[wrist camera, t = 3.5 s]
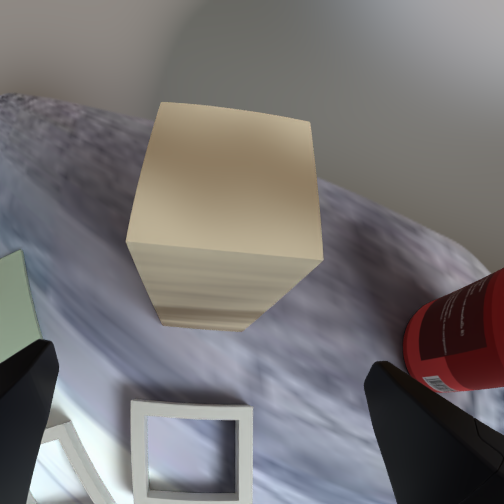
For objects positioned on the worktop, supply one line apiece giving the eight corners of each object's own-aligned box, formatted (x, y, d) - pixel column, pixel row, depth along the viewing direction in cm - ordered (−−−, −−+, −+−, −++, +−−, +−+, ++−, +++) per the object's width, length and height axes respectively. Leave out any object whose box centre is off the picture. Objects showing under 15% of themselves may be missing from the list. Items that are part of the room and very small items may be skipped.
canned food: (470, 378, 22) (570, 357, 12) (406, 405, 20) (525, 400, 10) (456, 297, 24) (549, 252, 14) (391, 310, 23) (500, 259, 13)
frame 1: (122, 513, 14) (118, 521, 12) (44, 527, 11) (36, 534, 10) (71, 421, 15) (63, 423, 14) (-3, 441, 13) (-13, 444, 12)
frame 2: (247, 502, 16) (252, 510, 14) (137, 498, 14) (134, 506, 13) (248, 404, 18) (253, 406, 17) (135, 398, 17) (130, 400, 16)
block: (241, 331, 20) (323, 260, 8) (163, 325, 19) (125, 241, 7) (244, 258, 22) (309, 122, 10) (170, 251, 21) (161, 101, 9)
